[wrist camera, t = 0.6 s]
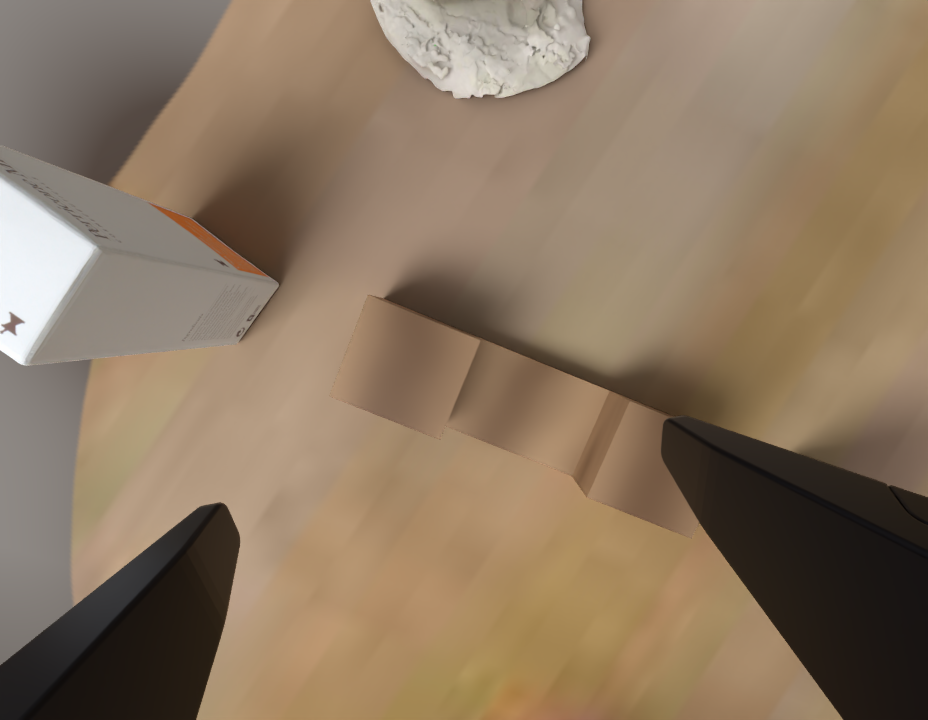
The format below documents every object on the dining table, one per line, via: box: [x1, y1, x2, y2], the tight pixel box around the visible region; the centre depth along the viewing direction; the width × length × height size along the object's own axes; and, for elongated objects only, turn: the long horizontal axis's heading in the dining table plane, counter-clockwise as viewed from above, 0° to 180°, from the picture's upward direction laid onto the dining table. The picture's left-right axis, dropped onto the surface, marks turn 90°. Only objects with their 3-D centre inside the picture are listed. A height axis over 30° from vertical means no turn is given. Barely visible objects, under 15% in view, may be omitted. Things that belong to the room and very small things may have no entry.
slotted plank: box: [329, 295, 699, 538], centre depth 22 cm, size 18×5×4 cm, turn 68°
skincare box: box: [0, 145, 279, 365], centre depth 18 cm, size 6×4×12 cm
